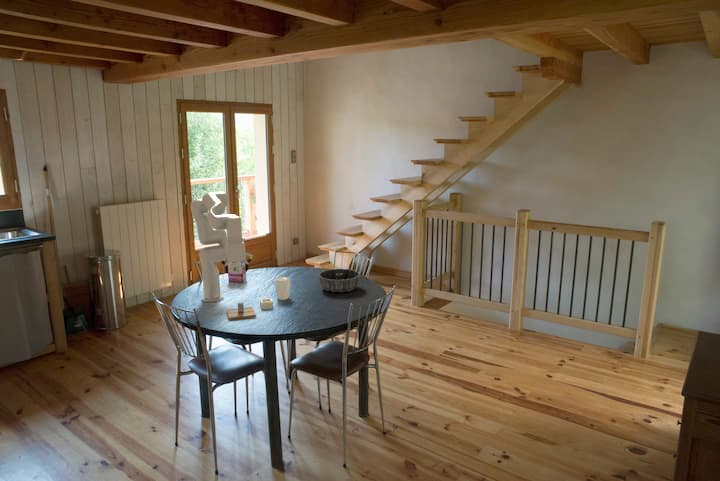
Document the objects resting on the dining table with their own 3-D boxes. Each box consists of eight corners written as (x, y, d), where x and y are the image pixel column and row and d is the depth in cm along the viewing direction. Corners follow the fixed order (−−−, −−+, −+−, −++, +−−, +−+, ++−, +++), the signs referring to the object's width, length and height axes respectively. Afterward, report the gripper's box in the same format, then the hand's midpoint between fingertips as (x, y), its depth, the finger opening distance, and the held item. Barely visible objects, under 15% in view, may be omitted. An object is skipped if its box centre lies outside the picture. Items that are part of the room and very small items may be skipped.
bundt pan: (360, 295, 302) (359, 279, 300) (316, 295, 303) (316, 279, 301) (360, 283, 328) (360, 268, 326) (320, 283, 329) (320, 268, 327)
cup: (276, 301, 293) (275, 281, 291) (275, 296, 302) (274, 277, 299) (291, 299, 295) (290, 280, 292) (290, 295, 303) (289, 276, 301)
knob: (273, 308, 280) (272, 301, 279) (261, 309, 278) (261, 302, 277) (270, 303, 288) (270, 297, 287) (259, 305, 286) (259, 298, 285)
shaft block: (226, 312, 274) (226, 301, 273) (252, 309, 279) (251, 298, 277) (229, 320, 261) (228, 308, 260) (256, 317, 266) (255, 305, 264)
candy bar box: (247, 281, 334) (245, 258, 331) (243, 283, 330) (241, 259, 326) (232, 280, 338) (230, 257, 334) (228, 282, 333) (226, 258, 330)
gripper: (251, 237, 265) (253, 269, 268) (217, 240, 260) (219, 271, 263) (252, 240, 258) (254, 272, 261) (217, 242, 253) (220, 275, 256)
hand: (237, 272), depth 262 cm, fingers open, 9 cm apart
